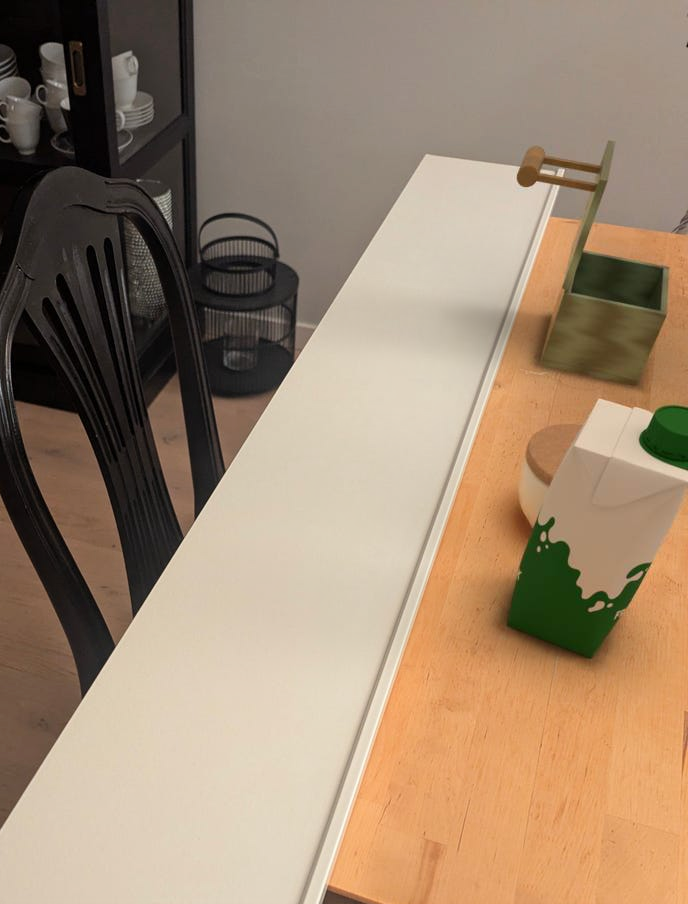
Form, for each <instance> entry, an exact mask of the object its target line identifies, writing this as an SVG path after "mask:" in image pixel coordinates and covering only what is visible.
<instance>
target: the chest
mask: <svg viewBox="0 0 688 904" xmlns="http://www.w3.org/2000/svg"><path fill="white" fill-rule="evenodd" d="M669 281H670V267H669V266H666V265H662V264H656V263H651V262H647V261H640V260H635V259H632V258H631V259H630V258H625V257H621V256H616V255H609V254H605V253H601V252H594V251H589V250H585V249H583V252H582V255H581V258H580V261H579V263H578V266H577V269H576V272H575V275H574V277H573V280H572V283H571V286H570V289H569V290H566V289H562V285H563V283H562V285H561V288H560V290H559V294H558V297H557V299H556V303H555V305H554V307H553V312H552V314H551V318H550V321H549V325H548V329H547V333H546V337H545V341H544V346H543V349H542V353H541V358H540V361H539V365H541V366H543V367H548V368H553V369H557V370H562V371H567V372H570V373H574V374H579V375H584V376H589V377H593V378H598V379H603V380H606V381H611V382H615V383H619V384H620V383H621V384H624V385H629V386H633V387H637V385H638V383H639V380H640V378H641V376H642V373H643V371H644V369H645V367H646V364H647V362H648V360H649V358H650V355H651V353H652V350H653V348H654V346H655V343H656V342H657V339H658V336H659V335H660V332H661V330H662V329H663V325H664V323H665V321H666V318H667V316H668V299H669V285H670V282H669Z"/></svg>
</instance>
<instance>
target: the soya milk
mask: <svg viewBox="0 0 688 904" xmlns="http://www.w3.org/2000/svg"><path fill="white" fill-rule="evenodd" d="M592 407H593V408H592V409H591V411H590V412H589V414H588V416H587V417H586V418H585V421H584V422H583V424H582V425H583V426H582V427H581V429H580V431H579V433H578V434H577V436H576V438H575V439H574V441H573V443H572V444H571V446H570V448H569V449H568V451H567V453H566V455H565V456H564V458H563V460H562V462H561V464H560V466H559V468H558V470H557V472H556V474H555V476H554V477H553V479H552V482H551V484H550V487H549V489H548V492H547V494H546V497H545V499H544V502H543V504H542V507H541V509H540V512H539V514H538V517H537V520H536V522H535V525H534V527H533V529H532V530H531V533H530V535H529V538H528V540H527V542H526V546H525V548H524V551H523V553H522V557H521V559H520V562H519V565H518V569H517V574H516V579H515V582H514V583H515V584H514V589H513V593H512V598H511V601H510V602H511V604H510V607H509V612H508V617H507V622H506V626H507V627H510V628H512V629H515V630H516V631H517V630H518V631H520V632H523V633H525V634H528V635H530V636H532V637H535V638H537V639H540V640H542V641H545V642H548V643H550V644H553V645H555V646H557V647H561V648H563V649H566V650H568V651H570V652H573V653H576V654H578V655H580V656H583V657H586V658H588V659H592V658H593V656H594V655H595V654H596V652H597V651H598V649H599V648H600V647H601V645H602V644H603V642H604V641H605V640H606V638H607V637H608V636H609V634H610V633H611V632H612V630H613V629H614V627H615V626H616V624H617V623H618V622H619V620H620V619H621V617H622V616H623V614H624V613H625V612H626V610H627V609H628V607H629V605H630V604H631V602H632V600H633V599H634V597H635V595H636V593H637V592H638V590H639V588H640V586H641V585H642V582H643V581H644V579H645V578H646V577H645V576H646V575H647V573H648V571H649V569H650V567H651V565H652V564H653V562H654V560H655V558H656V556H657V555H658V552H659V551H660V549H661V547H662V545H663V543H664V541H665V540H666V537H667V536H668V534H669V532H670V530H671V528H672V526H673V524H674V522H675V519H676V518H677V516H678V513H679V511H680V510H681V509H680V508H681V506H682V503H683V501H684V498H685V495H686V494H687V491H688V407H687V406H684V405H676V404H674V405H673V404H669V405H664V406H660V407H658V408H657V409H656V410H655V411H654V412H651V411H650V410H648V409H644V408H641V407H637V406H633V407H629V406H626V405H624V404H623V405H622V404H619V403H616V402H614V401H613V402H612V401H610V400H606V399H603V398H598V399H597V400H596V403H595V404H594V405H593V406H592Z"/></svg>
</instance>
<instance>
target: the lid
mask: <svg viewBox="0 0 688 904" xmlns="http://www.w3.org/2000/svg"><path fill="white" fill-rule="evenodd" d="M615 147H616V141H614V140H608V141H607V143H606V146H605V149H604V152H603V155H602V157H601V160H600V163H599V165H598V164H593V163H589V162H583V161H577V160H573V159H572V160H571V159H566V158H560V157H556V156H550V155H546V151H545V149H544V148H542V147H541V146H539V145H533V146H531V147H529V148H528V149H527V151H525V154H524V156H523V159H522V161H521V164H520V166H519V168H518V171H517V173H516V182H517V183H518V185H519V186H521V187H522V188H530V187H532V186H534V185H535V184H536V183H537V182H538V183H544V184H548V185H549V184H550V185H555V186H559V187H563V188H570V189H575V190H579V191H586V192H590V193H589V196H588V198H587V201H586V204H585V207H584V210H583V213H582V216H581V219H580V221H579V223H578V227H577V230H576V233H575V236H574V239H573V241H572V244H571V249H570V252H569V257H568V260H567V261H568V262H567V265H566V270H565V274H564V278H563V282H562V284H563V285H561V287H562V289H566V290H569V289H570V286H571V283H572V280H573V277H574V275H575V272H576V269H577V266H578V263H579V261H580V258H581V255H582V252H583V250H585V246H586V242H587V241H588V238H589V235H590V233H591V230H592V227H593V225H594V221H595V218H596V215H597V213H598V209H599V207H600V204H601V201H602V198H603V196H604V193H605V190H606V187H607V184H608V181H609V177H610V173H611V172H610V171H611V167H612V162H613V158H614V157H613V156H614V152H615ZM543 165H547V166H553V167H559V168H564V169H568V170H574V171H578V172H579V171H581V172H586V173H589V174H590V173H591V174H596V175H595V178H594V180H593V182H591V181H586V180H580V179H574V178H568V177H563V176H559V175H553V174H549V173H542V172H541V170H542V168H543Z"/></svg>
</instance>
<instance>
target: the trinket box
mask: <svg viewBox="0 0 688 904" xmlns="http://www.w3.org/2000/svg"><path fill="white" fill-rule="evenodd" d="M582 426H583V424H578V423H577V424H576V423H561V424H553V425H549V426H546V427H544V428H542V429H540V430H538V431H536V433H534V434H533V435H532V436H531V437H530V439H529V440H528V443H527V445H526V449H525V456H524V459H523V462H522V465H521V468H520V473H519V479H518V486H517V488H518V489H517V491H518V493H517V494H518V500H519V504H520V507H521V510H522V512H523V514H524V516H525V517H526V519H527V521H528V523H529V526H530V527H531V529H532V530H533V527H534V525H535V522H536V520H537V517H538V514H539V512H540V509H541V507H542V504H543V502H544V499H545V497H546V494H547V492H548V489H549V487H550V484H551V482H552V479H553V477H554V476H555V474H556V472H557V470H558V468H559V466H560V464H561V462H562V460H563V458H564V456H565V455H566V453H567V451H568V449H569V448H570V446H571V444H572V443H573V441H574V439H575V438H576V436H577V434H578V433H579V431H580V429H581V427H582Z"/></svg>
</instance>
